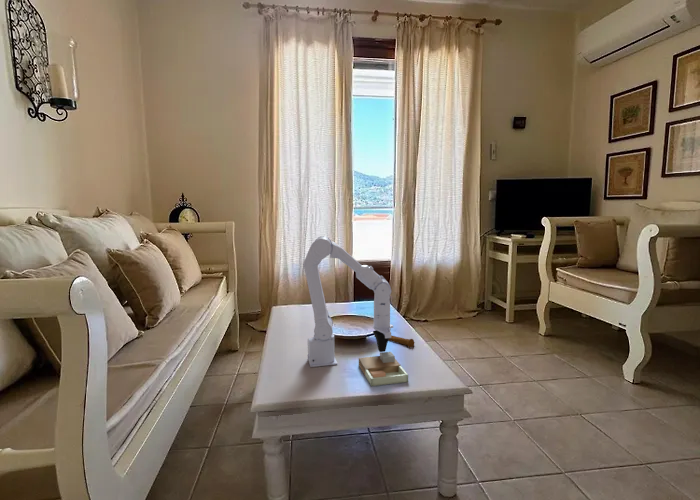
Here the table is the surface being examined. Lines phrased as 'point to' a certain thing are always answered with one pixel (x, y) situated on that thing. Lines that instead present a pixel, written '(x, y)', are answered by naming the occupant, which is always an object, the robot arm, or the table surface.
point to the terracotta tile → (377, 374)
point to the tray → (388, 378)
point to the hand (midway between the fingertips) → (381, 351)
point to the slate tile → (387, 357)
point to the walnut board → (378, 365)
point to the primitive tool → (402, 341)
